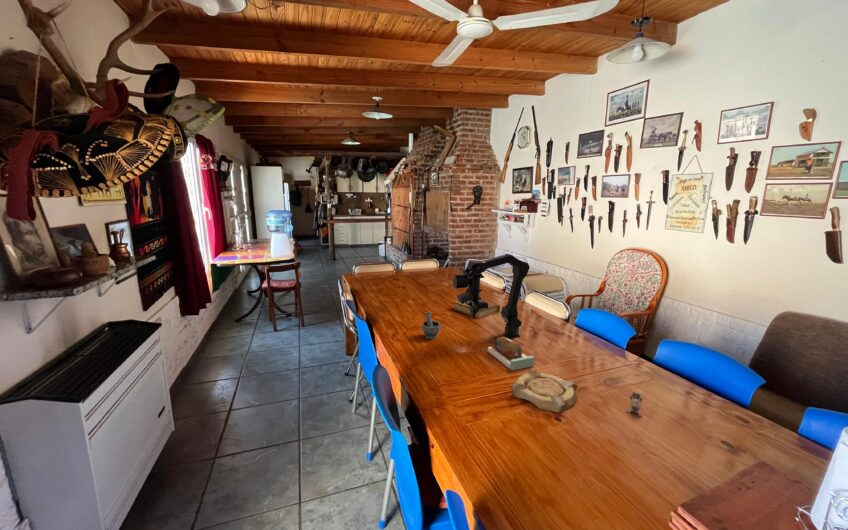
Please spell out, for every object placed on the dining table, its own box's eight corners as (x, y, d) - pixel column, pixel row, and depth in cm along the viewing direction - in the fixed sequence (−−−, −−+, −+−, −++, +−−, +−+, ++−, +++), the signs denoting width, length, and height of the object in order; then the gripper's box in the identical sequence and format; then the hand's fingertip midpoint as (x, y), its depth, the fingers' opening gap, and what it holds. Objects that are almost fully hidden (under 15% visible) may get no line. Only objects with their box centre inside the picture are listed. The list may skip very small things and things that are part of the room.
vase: (625, 403, 121) (629, 388, 119) (643, 410, 118) (647, 395, 116) (623, 411, 117) (626, 395, 115) (641, 418, 113) (645, 402, 112)
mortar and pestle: (442, 339, 175) (443, 316, 173) (425, 341, 173) (425, 318, 170) (435, 331, 186) (435, 309, 184) (419, 333, 183) (418, 311, 181)
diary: (499, 313, 217) (500, 304, 215) (479, 319, 205) (479, 310, 204) (472, 304, 234) (473, 296, 233) (452, 309, 223) (452, 301, 222)
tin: (493, 351, 162) (494, 334, 160) (498, 350, 163) (499, 333, 162) (517, 364, 149) (518, 346, 147) (522, 363, 151) (523, 344, 149)
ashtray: (546, 421, 112) (547, 407, 111) (498, 386, 132) (498, 374, 132) (594, 401, 123) (596, 389, 122) (543, 372, 143) (544, 360, 142)
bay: (507, 347, 166) (508, 339, 165) (533, 365, 148) (534, 357, 147) (487, 351, 162) (488, 343, 161) (512, 370, 144) (512, 361, 143)
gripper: (451, 284, 175) (450, 313, 178) (468, 293, 158) (467, 325, 161) (470, 282, 179) (469, 310, 182) (489, 291, 162) (488, 322, 165)
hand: (473, 317), depth 172 cm, fingers closed
